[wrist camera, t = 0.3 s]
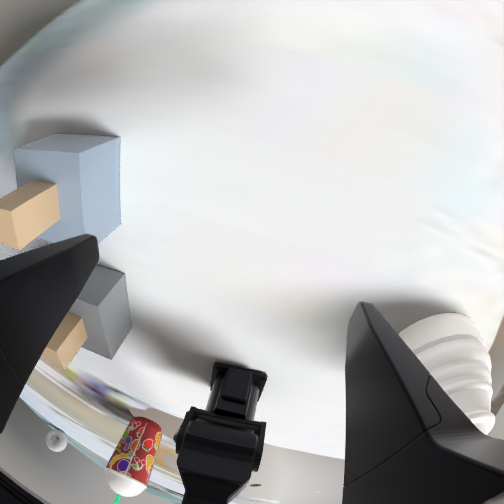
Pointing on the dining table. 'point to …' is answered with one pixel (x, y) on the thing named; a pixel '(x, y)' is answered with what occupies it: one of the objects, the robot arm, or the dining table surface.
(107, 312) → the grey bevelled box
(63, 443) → the donut
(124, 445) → the smoothie
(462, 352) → the honey pot
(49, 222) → the blue-grey and tan block
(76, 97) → the dining table surface
